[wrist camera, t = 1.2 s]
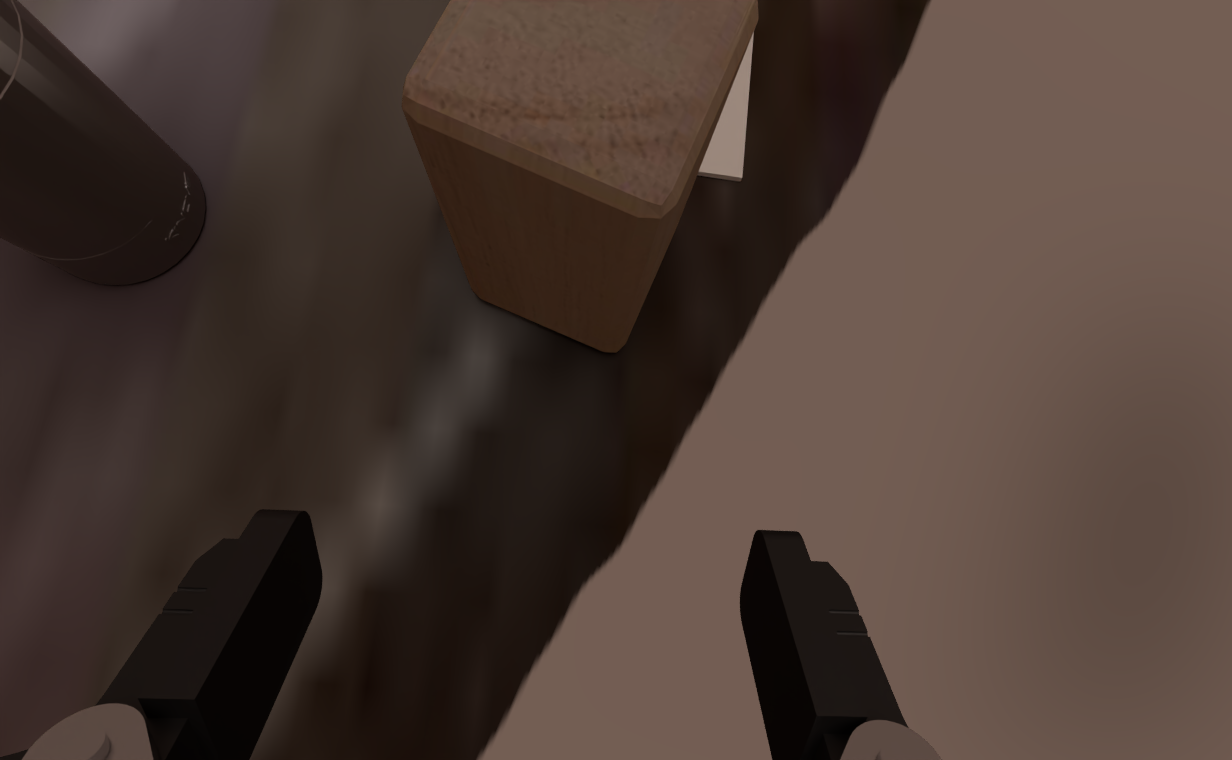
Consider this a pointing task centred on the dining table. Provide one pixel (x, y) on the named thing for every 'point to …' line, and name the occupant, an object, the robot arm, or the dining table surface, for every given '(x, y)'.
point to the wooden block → (571, 144)
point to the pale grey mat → (730, 129)
